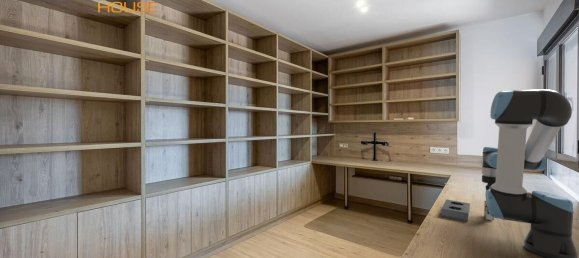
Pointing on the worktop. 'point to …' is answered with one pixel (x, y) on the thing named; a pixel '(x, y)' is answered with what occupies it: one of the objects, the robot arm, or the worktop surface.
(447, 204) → the block
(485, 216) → the brass sleeve
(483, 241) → the worktop surface
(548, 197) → the robot arm
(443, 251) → the worktop surface
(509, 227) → the worktop surface
